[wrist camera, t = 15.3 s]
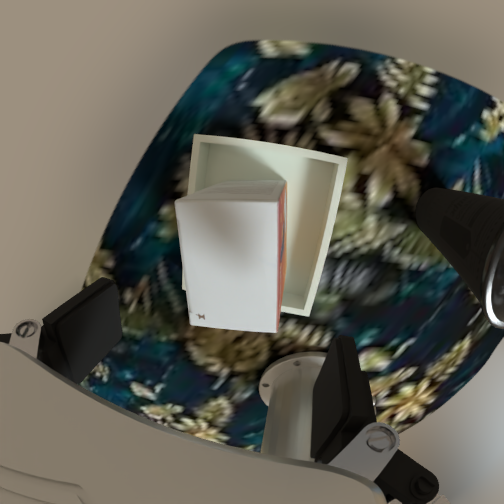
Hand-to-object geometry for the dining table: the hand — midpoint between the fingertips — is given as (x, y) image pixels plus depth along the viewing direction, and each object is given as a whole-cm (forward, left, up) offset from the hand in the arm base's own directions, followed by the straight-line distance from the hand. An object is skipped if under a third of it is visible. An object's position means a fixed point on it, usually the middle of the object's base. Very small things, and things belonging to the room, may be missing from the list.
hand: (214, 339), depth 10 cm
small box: (+1, -1, -15) cm, 15 cm away
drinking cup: (-16, -5, -16) cm, 23 cm away
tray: (0, -1, -16) cm, 16 cm away
